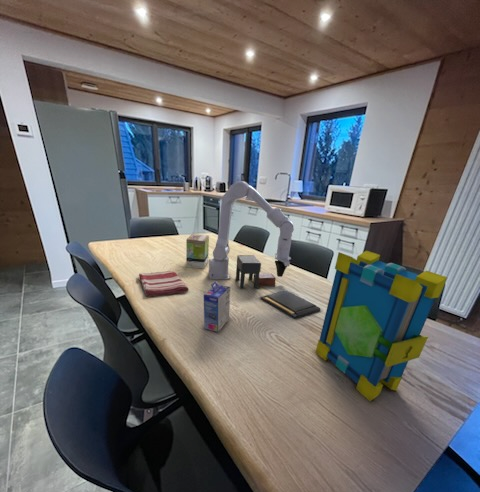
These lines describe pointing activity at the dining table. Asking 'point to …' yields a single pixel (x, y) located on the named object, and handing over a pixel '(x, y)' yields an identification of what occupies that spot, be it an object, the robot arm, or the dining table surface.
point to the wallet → (290, 304)
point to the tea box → (197, 251)
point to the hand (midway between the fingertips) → (279, 276)
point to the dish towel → (162, 283)
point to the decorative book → (376, 320)
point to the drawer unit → (248, 269)
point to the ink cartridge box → (216, 307)
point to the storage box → (266, 279)
